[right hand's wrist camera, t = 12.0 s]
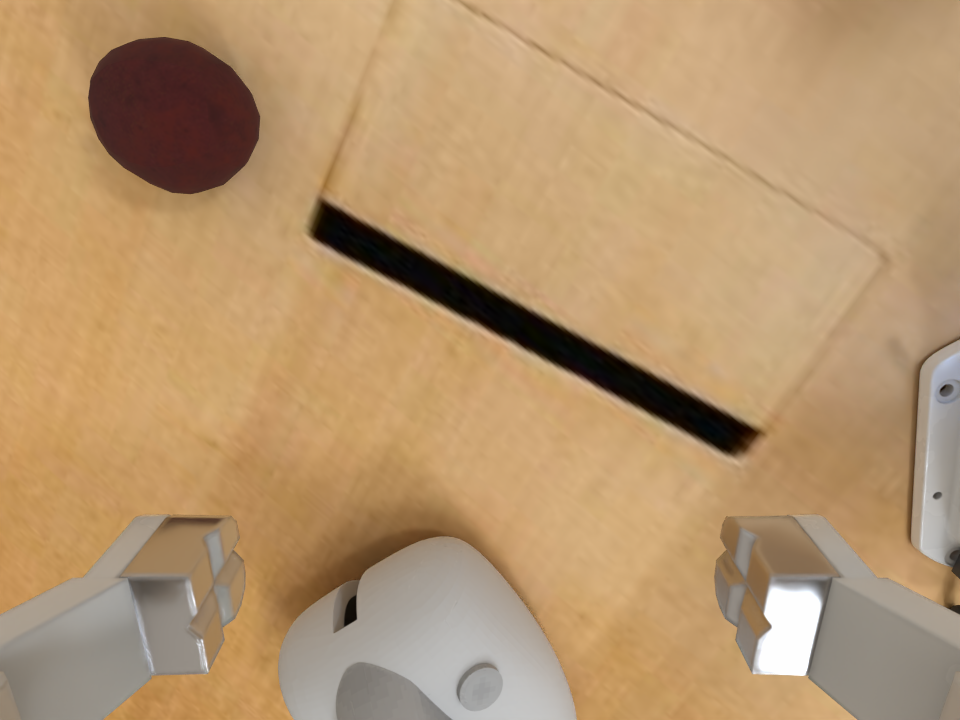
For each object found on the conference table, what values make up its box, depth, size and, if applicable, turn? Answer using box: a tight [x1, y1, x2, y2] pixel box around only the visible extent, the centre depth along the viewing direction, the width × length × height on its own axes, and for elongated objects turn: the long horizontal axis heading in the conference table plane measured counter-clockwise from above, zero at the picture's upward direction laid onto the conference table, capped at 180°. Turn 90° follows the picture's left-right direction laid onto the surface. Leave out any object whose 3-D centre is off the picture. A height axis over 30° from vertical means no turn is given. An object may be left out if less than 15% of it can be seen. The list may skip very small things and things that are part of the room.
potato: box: [88, 37, 260, 194], centre depth 32 cm, size 7×8×7 cm
